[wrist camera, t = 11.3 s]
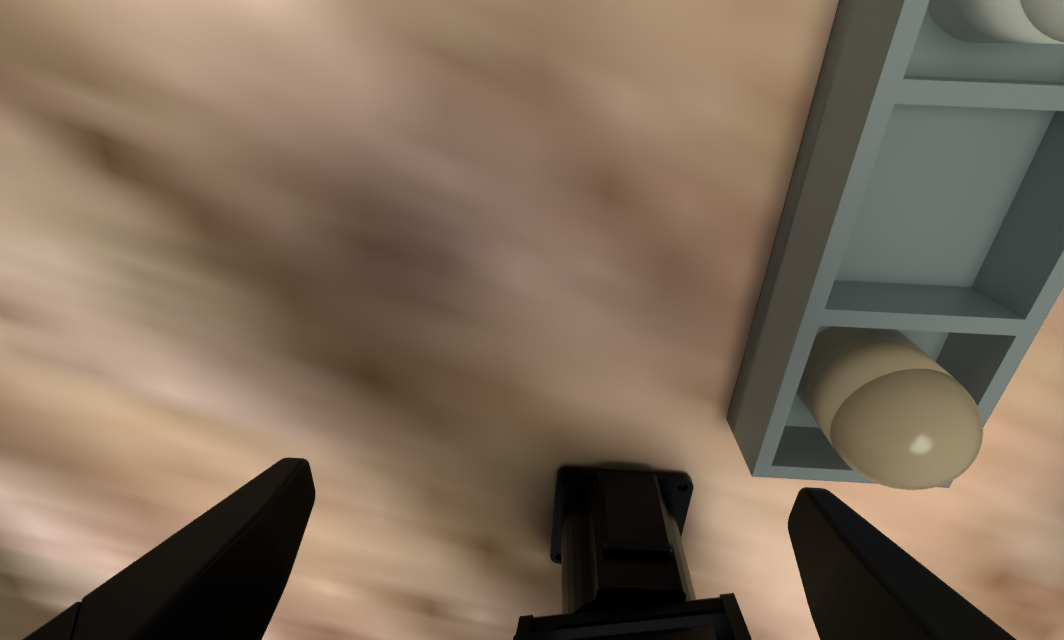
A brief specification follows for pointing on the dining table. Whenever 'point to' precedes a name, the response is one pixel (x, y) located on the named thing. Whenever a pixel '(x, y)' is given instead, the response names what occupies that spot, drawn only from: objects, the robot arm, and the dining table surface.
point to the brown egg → (890, 408)
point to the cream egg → (1001, 20)
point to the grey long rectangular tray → (909, 220)
